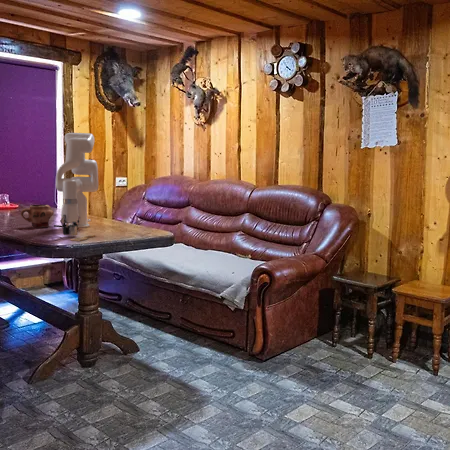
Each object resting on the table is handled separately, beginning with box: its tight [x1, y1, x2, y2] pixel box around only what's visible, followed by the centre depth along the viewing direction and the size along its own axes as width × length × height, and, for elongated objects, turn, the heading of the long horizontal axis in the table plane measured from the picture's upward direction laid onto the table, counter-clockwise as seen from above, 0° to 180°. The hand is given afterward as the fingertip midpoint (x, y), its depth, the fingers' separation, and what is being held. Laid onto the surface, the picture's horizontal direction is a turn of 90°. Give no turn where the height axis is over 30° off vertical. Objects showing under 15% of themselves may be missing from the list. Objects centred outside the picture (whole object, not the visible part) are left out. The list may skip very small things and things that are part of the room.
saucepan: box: [53, 224, 78, 237], centre depth 293 cm, size 15×8×5 cm, turn 70°
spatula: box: [69, 234, 96, 242], centre depth 288 cm, size 18×6×1 cm, turn 160°
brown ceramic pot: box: [20, 204, 55, 229], centre depth 325 cm, size 20×12×14 cm, turn 133°
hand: (70, 233), depth 292 cm, fingers closed on saucepan, 7 cm apart
